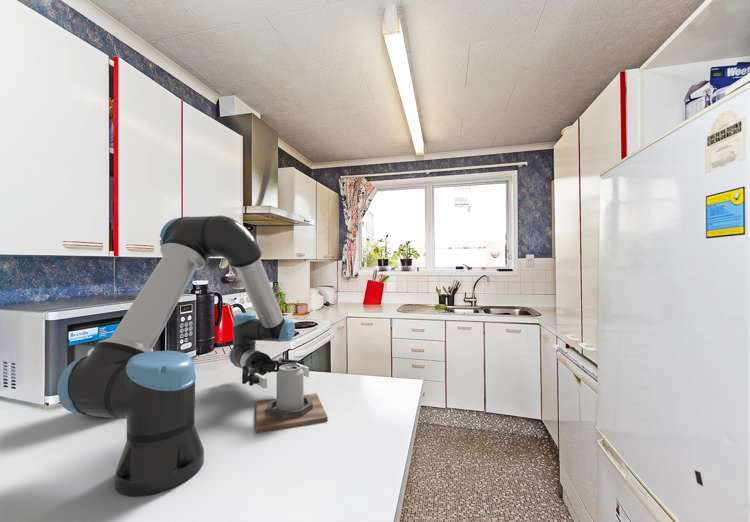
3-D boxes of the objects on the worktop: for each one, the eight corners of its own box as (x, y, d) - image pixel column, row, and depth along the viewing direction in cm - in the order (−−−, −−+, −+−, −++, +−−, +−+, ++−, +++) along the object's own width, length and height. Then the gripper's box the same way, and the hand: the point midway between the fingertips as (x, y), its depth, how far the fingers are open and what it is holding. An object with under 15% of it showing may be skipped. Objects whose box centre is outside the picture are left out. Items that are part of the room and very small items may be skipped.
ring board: (327, 420, 89) (327, 411, 89) (256, 432, 83) (256, 422, 83) (316, 396, 106) (316, 388, 106) (256, 404, 100) (256, 396, 100)
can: (308, 408, 94) (308, 365, 95) (285, 416, 89) (285, 372, 89) (293, 400, 99) (294, 360, 100) (271, 408, 94) (271, 366, 94)
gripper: (289, 365, 120) (323, 380, 105) (217, 383, 103) (245, 403, 87) (289, 345, 120) (323, 356, 105) (217, 358, 103) (245, 374, 88)
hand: (287, 377), depth 96 cm, fingers open, 13 cm apart
